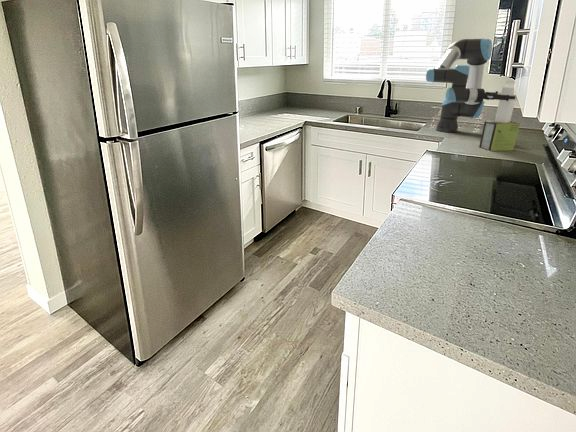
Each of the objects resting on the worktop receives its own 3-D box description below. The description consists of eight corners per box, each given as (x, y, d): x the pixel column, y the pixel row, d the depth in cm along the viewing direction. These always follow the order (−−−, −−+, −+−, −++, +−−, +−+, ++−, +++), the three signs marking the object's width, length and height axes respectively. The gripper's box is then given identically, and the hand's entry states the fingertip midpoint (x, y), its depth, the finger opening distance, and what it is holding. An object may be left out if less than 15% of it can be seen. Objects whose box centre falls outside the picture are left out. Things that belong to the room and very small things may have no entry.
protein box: (513, 150, 216) (520, 123, 210) (490, 151, 213) (496, 123, 207) (501, 146, 225) (507, 120, 219) (478, 147, 222) (484, 120, 216)
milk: (504, 123, 209) (515, 81, 200) (494, 121, 214) (503, 81, 205) (510, 122, 212) (520, 81, 203) (499, 120, 217) (509, 80, 208)
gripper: (466, 100, 221) (503, 101, 220) (482, 105, 199) (523, 106, 197) (468, 86, 218) (506, 87, 217) (485, 90, 196) (527, 91, 195)
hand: (515, 96), depth 207 cm, fingers open, 12 cm apart
